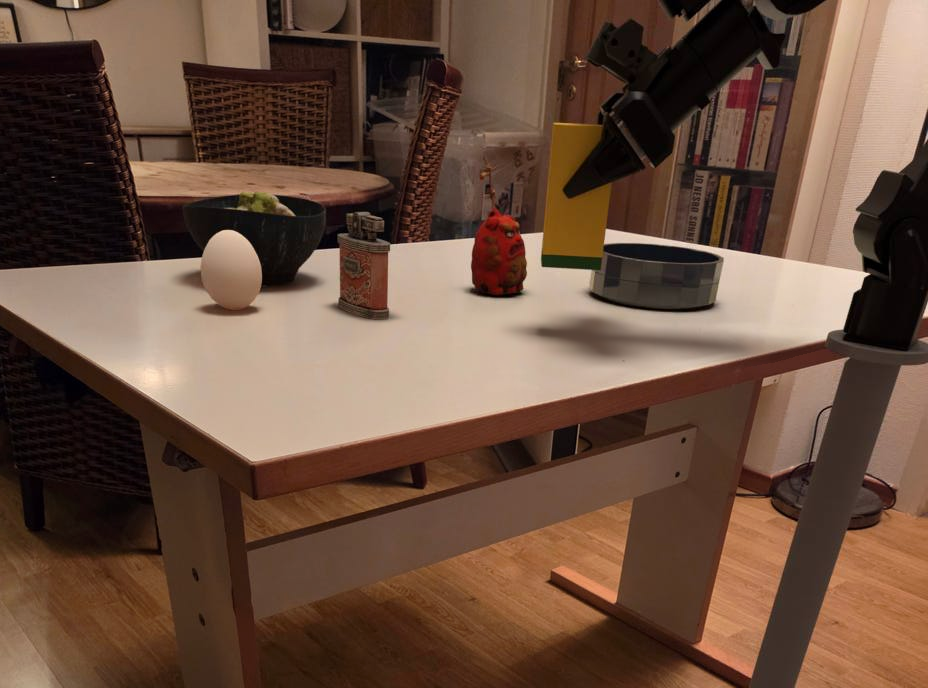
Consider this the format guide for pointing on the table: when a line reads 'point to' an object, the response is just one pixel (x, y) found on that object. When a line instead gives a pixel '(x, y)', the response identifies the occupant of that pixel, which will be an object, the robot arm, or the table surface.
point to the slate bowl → (657, 276)
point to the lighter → (364, 267)
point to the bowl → (262, 228)
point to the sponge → (573, 203)
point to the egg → (231, 270)
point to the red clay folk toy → (498, 251)
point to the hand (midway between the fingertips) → (564, 192)
